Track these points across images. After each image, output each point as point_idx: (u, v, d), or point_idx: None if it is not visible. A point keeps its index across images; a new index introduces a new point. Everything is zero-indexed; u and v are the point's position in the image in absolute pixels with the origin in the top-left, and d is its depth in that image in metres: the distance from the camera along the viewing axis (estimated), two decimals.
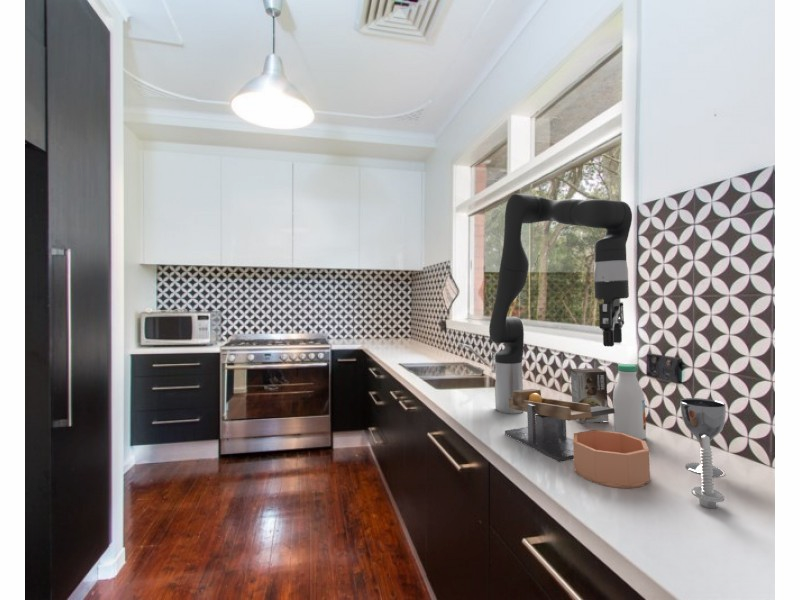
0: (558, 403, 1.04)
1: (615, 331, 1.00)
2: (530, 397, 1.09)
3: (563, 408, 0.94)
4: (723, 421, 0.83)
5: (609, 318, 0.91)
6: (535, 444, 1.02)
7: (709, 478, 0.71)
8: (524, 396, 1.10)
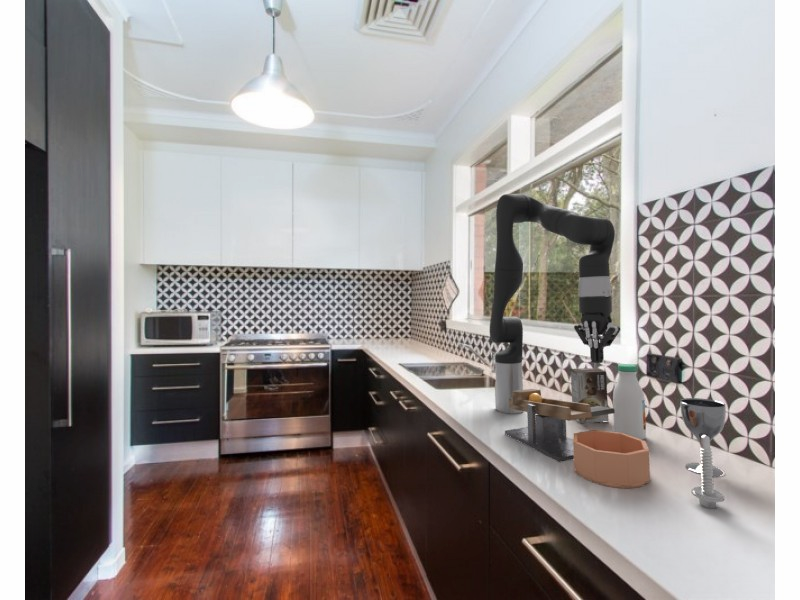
0: (558, 403, 1.04)
1: None
2: (530, 397, 1.09)
3: (563, 408, 0.94)
4: (723, 421, 0.83)
5: (613, 339, 0.95)
6: (535, 444, 1.02)
7: (709, 478, 0.71)
8: (524, 396, 1.10)
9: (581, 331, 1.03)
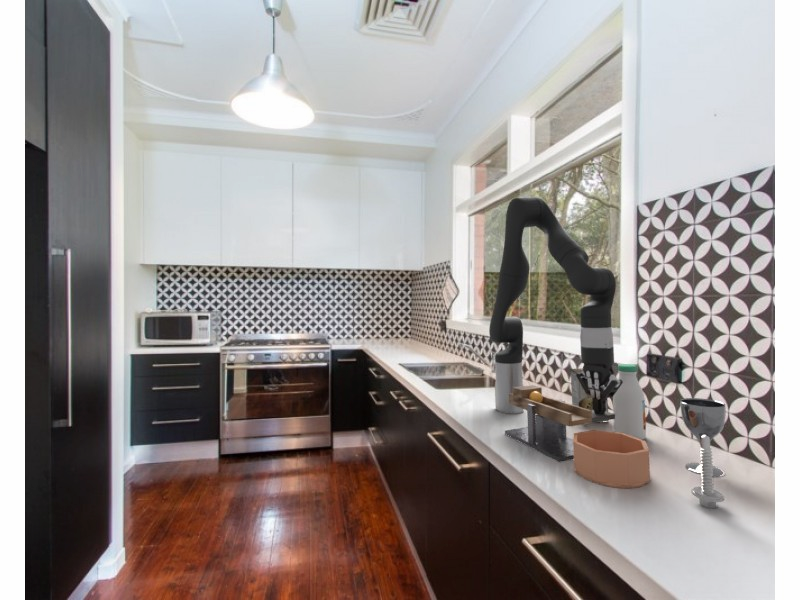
0: (559, 404, 1.04)
1: None
2: (531, 395, 1.08)
3: (564, 413, 0.94)
4: (723, 421, 0.83)
5: (615, 391, 0.95)
6: (535, 444, 1.02)
7: (709, 478, 0.71)
8: (525, 394, 1.10)
9: (583, 380, 1.02)
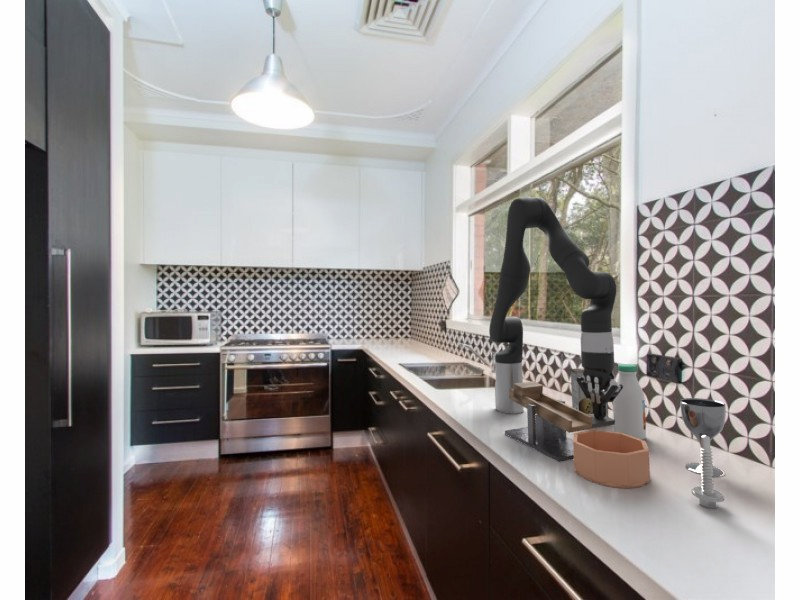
0: (559, 405, 1.04)
1: None
2: None
3: (565, 419, 0.94)
4: (723, 421, 0.83)
5: (615, 396, 0.95)
6: (535, 444, 1.02)
7: (709, 478, 0.71)
8: (526, 392, 1.10)
9: (583, 384, 1.02)
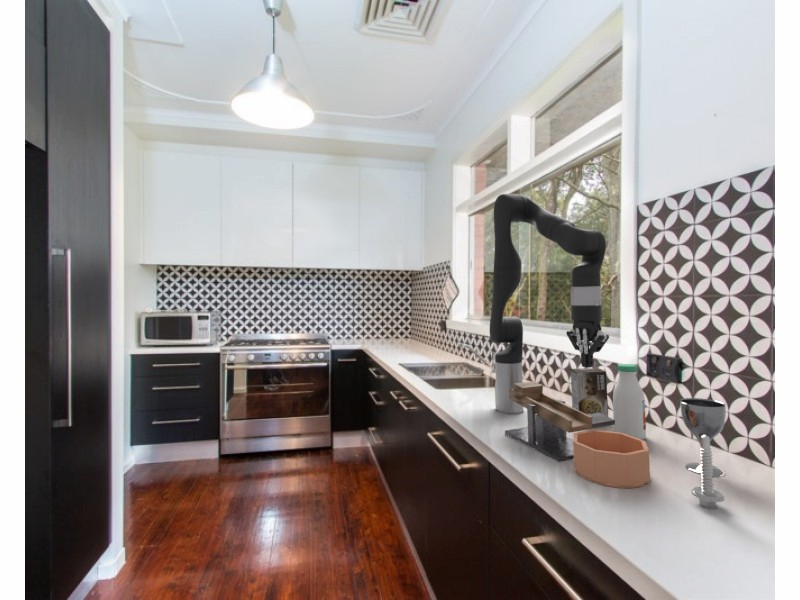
0: (559, 405, 1.04)
1: None
2: None
3: (565, 419, 0.94)
4: (723, 421, 0.83)
5: (602, 346, 1.01)
6: (535, 444, 1.02)
7: (709, 478, 0.71)
8: (526, 392, 1.10)
9: (573, 337, 1.08)
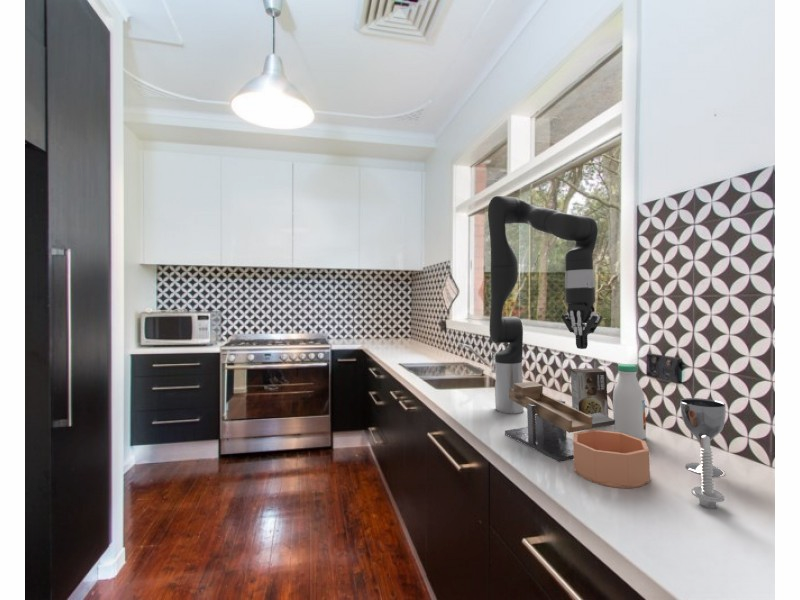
0: (559, 405, 1.04)
1: None
2: None
3: (565, 419, 0.94)
4: (723, 421, 0.83)
5: (596, 327, 1.05)
6: (535, 444, 1.02)
7: (709, 478, 0.71)
8: (526, 392, 1.10)
9: (567, 320, 1.12)
